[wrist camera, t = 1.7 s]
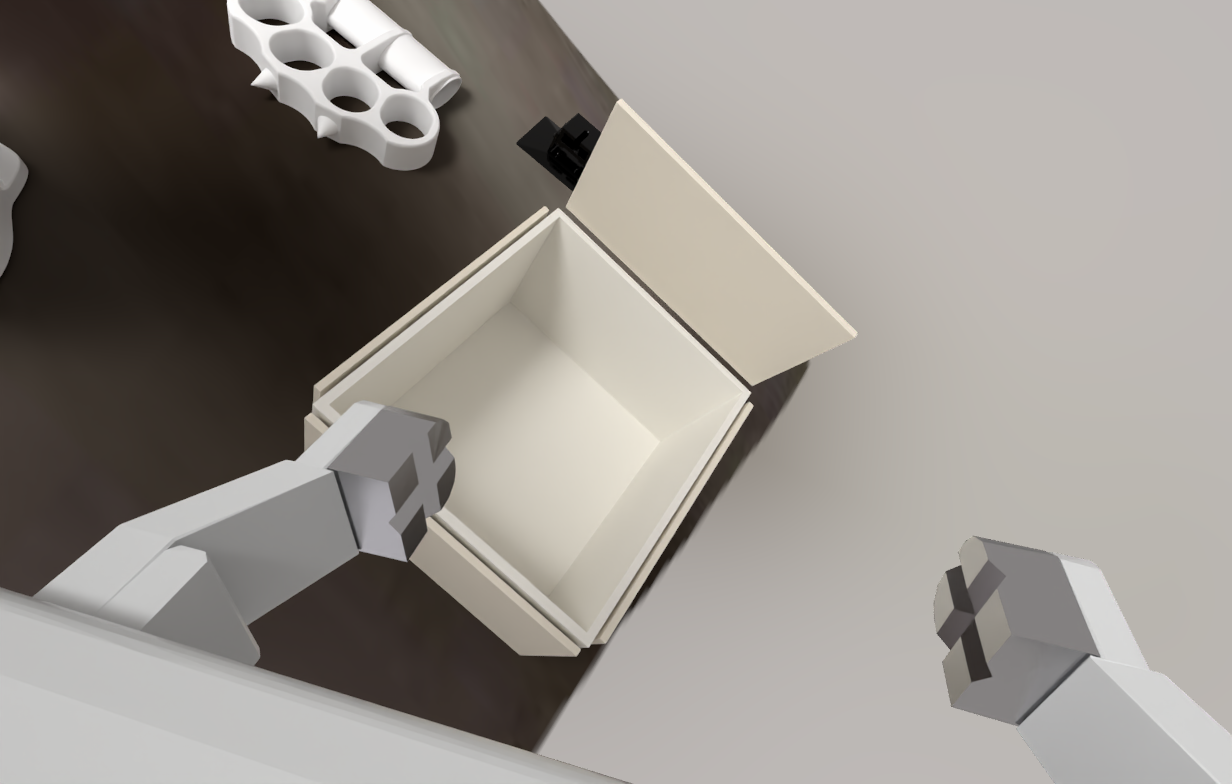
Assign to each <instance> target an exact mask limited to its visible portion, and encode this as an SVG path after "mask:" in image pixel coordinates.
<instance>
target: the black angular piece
mask: <svg viewBox="0 0 1232 784" xmlns="http://www.w3.org/2000/svg"><path fill="white" fill-rule="evenodd" d="M600 135H601V132H600V131H598V130H597V129H596V128H595V127H594V126H593V125H592V124H590V123H589V122H588V121H587V120H586V119H585V118H584V117H582V116H581V115H580V114H579V113H578V114H576V115H575V116H574V117H573V118H572V119H571V120H570V121H568V122H567V123H565V125H564V126H563V127H562V128H559V127H558V126H557V125H556V124H555V123H554V122H552V121H551V120H550V119H549V118H548V117H544V118H543V119H542V120H541V121H540V122H539V123H538V124H536V125H535V126H534V127H533V128H532V129H531V130H530V131H529V132H528V133H527V134H525V135H524V136H523V137H522V138H521V139H520V140H519V141H518V142H517V145H518V146H519V147H521V148H522V149H523V150H524V151H525V152H526V153H528V154H529V155H530V156H531V157H532V158H534V159H535V160H536V161H537V162H538V163H540V164H541V165H542V166H543V167H544V168H546V169H547V170H548V171H549V172H550V173H551V174H553V175H554V176H555V177H556V178H557V179H559V180H560V181H561V182H562V183H563V184H565V185H566V186H567V187H568V188H569V189H571V190H572V191H574V189H575V187H576V185H577V183H578V181H579V178H580V176H581V174H582V172H583V170H584V168H585V166H586V164H587V162H588V160H589V158H590V156H591V154H592V152H593V150H594V148H595V146H596V143H597V141H598V139H599V137H600Z"/></svg>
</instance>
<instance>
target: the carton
mask: <svg viewBox="0 0 1232 784" xmlns="http://www.w3.org/2000/svg"><path fill="white" fill-rule="evenodd" d="M548 212H549V209H548V208H547V207H546V206H544V207H543V208H541V209H540V210H539V211H538V212H536V213H535V214H534V215H532V216H531V217H530V218H529V219H527V220H526V221H525V222H523V223H522V224H521V225H520V226H518V227H517V228H516V229H514V230H513V231H512V232H511V233H509V234H508V235H507V236H505V237H504V238H503V239H502V240H500V241H499V242H498V243H496V244H495V245H494V246H493V247H491V248H490V249H489V250H487V251H486V252H485V253H484V254H482V255H481V256H480V257H479V258H477V259H476V260H475V261H473V262H472V263H471V264H470V265H468V266H467V267H466V268H464V269H463V270H462V271H461V272H459V273H458V274H457V275H455V276H454V277H453V278H452V279H450V280H449V281H448V282H446V283H445V284H444V285H443V286H441V287H440V288H439V289H437V290H436V291H435V292H434V293H432V294H431V295H430V296H428V297H427V298H426V299H425V300H423V301H422V302H421V303H419V304H418V305H417V306H416V307H414V308H413V309H412V310H410V311H409V312H408V313H407V314H405V315H404V316H403V317H401V318H400V319H399V320H398V321H396V322H395V323H394V324H392V325H391V326H390V327H389V328H387V329H386V330H385V331H383V332H382V333H381V334H380V335H378V336H377V337H376V338H374V339H373V340H372V341H371V342H369V343H368V344H367V345H365V346H364V347H363V348H362V349H360V350H359V351H358V352H356V353H355V354H354V355H353V356H351V357H350V358H349V359H348V360H346V361H345V362H344V363H342V364H341V365H340V366H339V367H337V368H336V369H335V370H333V371H332V372H331V373H330V374H328V375H327V376H326V377H324V378H323V379H322V380H321V381H319V382H318V383H317V384H315V385H314V394H313V404H312V413H310V414H309V415H307V416H306V417H305V418H304V452H305V451H306V450H307V449H308V448H309V447H310V446H311V445H312V444H313V443H314V442H315V441H316V440H317V439H318V438H319V437H320V436H321V435H322V434H323V433H324V432H325V431H326V430H327V429H328V428H329V427H330V426H331V425H333V424H334V423H335V422H336V421H337V420H338V419H339V418H340V417H341V416H342V415H343V414H344V413H345V412H346V411H347V410H348V409H349V408H350V407H351V406H352V405H353V404H354V403H356V402H359V401H362V400H366V401H370V402H373V403H377V404H381V405H385V406H392V407H396V408H400V409H404V410H408V411H412V412H416V413H420V414H424V415H429V416H433V417H437V418H441V419H444V420H445V421H447V422H449V426H450V431H451V436H452V438H451V440H450V441H449V442H448V444H447V445H446V448H447V449H448V450H449V452H450V453H451V454H452V455H453V456H454V458H455V466H456V473H455V482H454V485H453V488H452V491H451V494H450V496H449V499H448V500H447V502H446V503H445V505H444V507H443V508H442V510H441V511H439V512H437V513H436V514H434V515H432V516H430V517H428V518H426V523H427V529H428V531H427V533H426V534H425V536H424V537H423V539H422V540H421V542H420V543H419V545H418V546H417V548H416V549H415V551H414V552H413V554H412V555H411V557H410V558H409V560H411V561H412V562H413V563H414V564H415V565H416V566H417V567H419V568H420V569H421V570H422V571H423V572H424V573H426V574H427V575H428V576H429V577H430V578H431V579H432V580H434V581H435V582H436V583H437V584H438V585H439V586H441V587H442V588H443V589H444V590H445V591H446V592H447V593H449V594H450V595H451V596H452V597H453V598H454V599H456V600H457V601H458V602H459V603H460V604H461V605H462V606H464V607H465V608H466V609H467V610H468V611H469V612H471V613H472V614H473V615H474V616H475V617H476V618H477V619H479V620H480V621H481V622H482V623H483V624H484V625H486V626H487V627H488V628H489V629H490V630H491V631H492V632H494V633H495V634H496V635H497V636H498V637H499V638H501V639H502V640H503V641H504V642H505V643H506V644H507V645H509V646H510V647H511V648H512V649H513V650H514V651H515V652H517V653H518V654H519V655H527V656H575V657H577V655H578V654H579V652H580V650H581V649H580V648H589V647H590V645H591V644H606V643H607V641H608V639H609V638H610V636H611V635H612V633H613V631H614V630H615V628H616V627H617V625H618V623H619V622H620V620H621V619H622V617H623V615H624V614H625V612H626V611H627V609H628V607H629V606H630V604H631V602H632V601H633V599H634V598H635V596H636V594H637V593H638V591H639V590H640V588H641V586H642V585H643V583H644V582H645V580H646V578H647V577H648V575H649V574H650V572H651V570H652V569H653V567H654V565H655V564H656V562H657V561H658V559H659V557H660V556H661V554H662V553H663V551H664V549H665V548H666V546H667V545H668V543H669V541H670V540H671V538H672V537H673V535H674V533H675V532H676V530H677V528H678V527H679V525H680V524H681V522H682V520H683V519H684V517H685V516H686V514H687V512H688V511H689V509H690V508H691V506H692V504H693V503H694V501H695V500H696V498H697V496H698V495H699V493H700V491H701V490H702V488H703V487H704V485H705V483H706V482H707V480H708V479H709V477H710V475H711V474H712V472H713V471H714V469H715V467H716V466H717V464H718V463H719V461H720V459H721V458H722V456H723V455H724V453H725V451H726V450H727V448H728V446H729V445H730V443H731V442H732V440H733V438H734V437H735V435H736V434H737V432H738V430H739V429H740V427H741V426H742V424H743V422H744V421H745V419H746V418H747V416H748V414H749V413H750V411H751V409H752V408H753V405H752V404H751V403H750V402H748V403H747V404H745V405H744V403H745V402H746V400H747V399H748V397H749V395H750V394H751V392H750V391H749V390H748V389H747V388H746V387H745V386H744V385H743V384H742V383H741V382H740V381H738V380H737V379H736V378H735V377H734V376H733V375H732V374H731V373H730V372H729V371H728V370H727V369H726V368H725V367H724V366H723V365H722V364H721V363H720V362H719V361H718V360H717V359H716V358H714V357H713V356H712V355H711V354H710V353H709V352H708V351H707V350H706V349H705V348H704V347H703V346H702V345H701V344H700V343H699V342H698V341H697V340H696V339H695V338H694V337H693V336H692V335H691V334H689V333H688V332H687V331H686V330H685V329H684V328H683V327H682V326H681V325H680V324H679V323H678V322H677V321H676V320H675V319H674V318H673V317H672V316H671V315H670V314H669V313H668V312H667V311H665V310H664V309H663V308H662V307H661V306H660V305H659V304H658V303H657V302H656V301H655V300H654V299H653V298H652V297H651V296H650V295H649V294H648V293H647V292H646V291H645V290H644V289H643V288H642V287H640V286H639V285H638V284H637V283H636V282H635V281H634V280H633V279H632V278H631V277H630V276H629V275H628V274H627V273H626V272H625V271H624V270H623V269H622V268H621V267H620V266H619V265H618V264H616V263H615V262H614V261H613V260H612V259H611V258H610V257H609V256H608V255H607V254H606V253H605V252H604V251H603V250H602V249H601V248H600V247H599V246H598V245H597V244H596V243H595V242H594V241H593V240H591V239H590V238H589V237H588V236H587V235H586V234H585V233H584V232H583V231H582V230H581V229H580V228H579V227H578V226H577V225H576V224H575V223H574V222H573V221H572V220H571V219H570V218H569V217H567V216H566V215H565V214H564V213H563V212H562V211H561V210H560V209H559V208H558V209H556V210H555V211H554V212H553V213H551V214H550V215H549V216H548V217H546V215H547V214H548ZM545 217H546V218H545Z"/></svg>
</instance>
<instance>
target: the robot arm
mask: <svg viewBox="0 0 1232 784" xmlns="http://www.w3.org/2000/svg"><path fill="white" fill-rule="evenodd" d="M27 177H28V169H27V166H26V165H25V164H24V162H23V161H22V160H21V159H20V157H19V156H18V155H17V154H16V153H15V152H14V151H12V150H11V149H9V148H8V147H6V146H5V145H3V144H1V143H0V277H1V275H2V274H3V272H4V270H5V268H6V266H7V264H8V261H9V258H10V255H11V251H12V245H13V228H12V217H11V216H12V205H13V203H14V201H15V200H16V198H17V197H18V195H19V193H20V192H21V190H22V188H23V187H24V185H25V183H26V180H27ZM451 438H452V436H451V431H450V426H449V422H447V421H445V420H444V419H441V418H437V417H433V416H429V415H424V414H420V413H416V412H412V411H408V410H404V409H400V408H396V407H392V406H385V405H381V404H377V403H373V402H370V401H366V400H362V401H359V402H356V403H354V404H353V405H352V406H351V407H350V408H349V409H348V410H347V411H346V412H345V413H344V414H343V415H342V416H341V417H340V418H339V419H338V420H337V421H336V422H335V423H334V424H333V425H331V426H330V427H329V428H328V429H327V430H326V431H325V432H324V433H323V434H322V435H321V436H320V437H319V438H318V439H317V440H316V441H315V442H314V443H313V444H312V445H311V446H310V447H309V448H308V449H307V450H306V451H305V452H304V453H303V454H302V455H301V456H300V457H299V458H298V459H297V460H296V461H290V460H284V461H282V462H279V463H277V464H274V465H272V466H269V467H266V468H264V469H261V470H259V471H256V472H254V473H251V474H248V475H246V476H243V477H241V478H238V479H236V480H233V481H231V482H228V483H225V484H223V485H220V486H218V487H215V488H213V489H210V490H207V491H205V492H202V493H200V494H197V495H195V496H192V497H190V498H187V499H184V500H182V501H179V502H177V503H174V504H172V505H169V506H166V507H164V508H161V509H159V510H156V511H154V512H151V513H149V514H146V515H143V516H141V517H138V518H136V519H133V520H131V521H128V522H125V523H123V524H120V525H119V526H118V527H116V528H115V529H114V530H113V531H111V532H110V533H109V534H108V535H107V536H105V537H104V538H103V539H102V540H101V541H99V542H98V543H97V544H96V545H95V546H93V547H92V548H91V549H90V550H89V551H87V552H86V553H85V554H84V555H82V556H81V557H80V558H79V559H78V560H76V561H75V562H74V563H73V564H72V565H70V566H69V567H68V568H67V569H66V570H64V571H63V572H62V573H61V574H60V575H58V576H57V577H56V578H55V579H53V580H52V581H51V582H50V583H49V584H47V585H46V586H45V587H44V588H43V589H41V590H40V591H39V592H38V593H37V594H35V595H34V596H33V597H30V596H27V595H24V594H20V593H17V592H14V591H11V590H7V589H4V588H1V587H0V784H632V783H628V782H625V781H622V780H619V779H616V778H612V777H609V776H606V775H603V774H600V773H596V772H593V771H590V770H586V769H583V768H580V767H577V766H574V765H571V764H567V763H564V762H561V761H558V760H555V759H551V758H548V757H545V756H542V755H538V754H535V753H532V752H529V751H526V750H522V749H519V748H516V747H513V746H510V745H506V744H503V743H500V742H497V741H494V740H490V739H487V738H484V737H481V736H477V735H474V734H471V733H468V732H465V731H461V730H458V729H455V728H452V727H448V726H445V725H442V724H439V723H436V722H432V721H429V720H426V719H423V718H419V717H416V716H413V715H410V714H407V713H403V712H400V711H397V710H394V709H390V708H387V707H384V706H381V705H378V704H374V703H371V702H368V701H365V700H362V699H358V698H355V697H352V696H349V695H345V694H342V693H339V692H336V691H333V690H329V689H326V688H323V687H320V686H316V685H313V684H310V683H307V682H304V681H300V680H297V679H294V678H291V677H287V676H284V675H281V674H278V673H275V672H271V671H268V670H265V669H262V668H259V667H255V666H254V665H255V664H256V662H257V661H258V660H259V658H260V648H259V646H258V644H257V643H256V641H255V639H254V637H253V636H252V634H251V632H250V630H249V628H248V627H247V625H248V624H250V623H252V622H253V621H255V620H256V619H258V618H259V617H261V616H262V615H264V614H266V613H267V612H269V611H270V610H272V609H273V608H275V607H277V606H278V605H280V604H281V603H283V602H284V601H286V600H287V599H289V598H291V597H292V596H294V595H295V594H297V593H298V592H300V591H302V590H303V589H305V588H306V587H308V586H309V585H311V584H312V583H314V582H316V581H317V580H319V579H320V578H322V577H323V576H325V575H327V574H328V573H330V572H331V571H333V570H334V569H336V568H337V567H339V566H341V565H342V564H344V563H345V562H347V561H348V560H350V559H352V558H353V557H355V556H356V555H358V554H359V551H362V552H366V553H370V554H375V555H379V556H383V557H388V558H392V559H396V560H400V561H405V562H407V561H408V560H409V558H410V557H411V555H412V554H413V552H414V551H415V549H416V548H417V546H418V545H419V543H420V542H421V540H422V539H423V537H424V536H425V534H426V533H427V531H428V529H427V523H426V518H428V517H430V516H432V515H434V514H436V513H437V512H439V511H441V510H442V508H443V507H444V505H445V503H446V502H447V500H448V499H449V496H450V494H451V491H452V488H453V485H454V482H455V473H456V466H455V458H454V456H453V455H452V454H451V453H450V452H449V450H448V449H447V448H446V445H447V444H448V442H449V441H450V440H451ZM958 554H959V557H960V562H961V565H960V566H958V567H955V568H953V569H950V570H948V571H946V572H945V574H944V575H943V577H942V579H941V581H940V583H939V584H938V586H937V592H936V595H935V600H934V621H935V626H936V632H937V634H938V636H939V637H940V638H941V639H942V640H943V642H944V643H945V644H946V645H947V646H948V648H949V649H950V650H951V651H950V652H949V653H948V655H947V656H946V658H945V659H944V660H943V662H942V663H943V668H944V673H945V678H946V683H947V687H948V693H949V697H950V702H951V707H954V708H957V709H961V710H964V711H968V712H971V713H974V714H978V715H982V716H985V717H988V718H992V719H995V720H998V721H1002V722H1005V723H1009V724H1012V725H1016V726H1018V727H1017V731H1018V732H1019V734H1020V735H1021V736H1022V738H1023V739H1024V741H1025V742H1026V743H1027V745H1028V746H1029V748H1030V749H1031V750H1032V752H1033V753H1034V755H1035V756H1036V758H1037V759H1038V760H1039V762H1040V763H1041V765H1042V766H1043V768H1044V769H1045V770H1046V772H1047V773H1048V775H1049V776H1050V777H1051V779H1052V780H1053V782H1054V783H1055V784H1232V735H1231V734H1230V733H1229V732H1227V731H1226V730H1225V729H1224V728H1223V727H1222V726H1221V725H1220V724H1219V723H1217V722H1216V721H1215V720H1214V719H1213V718H1212V717H1211V716H1210V715H1209V714H1207V713H1206V712H1205V711H1204V710H1203V709H1202V708H1201V707H1200V706H1199V705H1197V704H1196V703H1195V702H1194V701H1193V700H1192V699H1191V698H1190V697H1189V696H1188V695H1186V694H1185V693H1184V692H1183V691H1182V690H1181V689H1180V688H1179V687H1177V686H1176V685H1175V684H1174V683H1173V682H1172V681H1171V680H1170V679H1169V678H1168V677H1166V676H1165V675H1164V674H1162V673H1158V672H1155V671H1151V670H1150V669H1149V667H1148V665H1147V663H1146V661H1145V659H1144V657H1143V655H1142V653H1141V651H1140V649H1139V647H1138V645H1137V643H1136V641H1135V639H1134V637H1133V634H1132V632H1131V631H1130V628H1129V626H1128V624H1127V622H1126V620H1125V618H1124V616H1123V614H1122V612H1121V610H1120V608H1119V606H1118V604H1117V602H1116V600H1115V598H1114V596H1113V594H1112V592H1111V590H1110V588H1109V586H1108V584H1107V582H1106V579H1105V578H1104V575H1103V573H1102V571H1101V570H1100V568H1099V567H1098V566H1097V565H1096V564H1095V563H1094V562H1092V561H1091V560H1086V559H1082V558H1077V557H1072V556H1068V555H1063V554H1058V553H1053V552H1049V553H1048V552H1046V551H1043V550H1038V549H1033V548H1028V547H1023V546H1019V545H1014V544H1010V543H1005V542H999V541H996V540H991V539H986V538H981V537H977V536H973V537H971V538H969V539H968V540H966V541H965V543H964V544H963V546H962V547H961V549H960V550H959V552H958Z"/></svg>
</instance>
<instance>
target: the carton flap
mask: <svg viewBox="0 0 1232 784" xmlns="http://www.w3.org/2000/svg"><path fill="white" fill-rule="evenodd" d="M566 208H567V209H568V210H569V211H570V212H571V213H573V214H574V215H575V216H576V217H577V218H578V219H579V220H580V221H581V222H582V223H583V224H584V225H585V226H586V227H587V228H588V229H589V230H590V231H591V232H592V233H593V234H594V235H595V236H596V237H597V238H599V239H600V240H601V241H602V242H603V243H604V244H605V245H606V246H607V247H608V248H609V249H610V250H611V251H612V252H613V253H614V254H615V255H616V256H617V257H618V258H619V259H620V260H621V261H622V262H624V263H625V264H626V265H627V266H628V267H629V268H630V269H631V270H632V271H633V272H634V273H635V274H636V275H637V276H638V277H639V278H640V279H641V280H642V281H643V282H644V283H645V284H646V285H647V286H649V287H650V288H651V289H652V290H653V291H654V292H655V293H656V294H657V295H658V296H659V297H660V298H661V299H662V300H663V301H664V302H665V303H666V304H667V305H668V306H669V307H670V308H671V309H672V310H673V311H675V312H676V313H677V314H678V315H679V316H680V317H681V318H682V319H683V320H684V321H685V322H686V323H687V324H688V325H689V326H690V327H691V328H692V329H693V330H694V331H695V332H696V333H697V334H698V335H700V336H701V337H702V338H703V339H704V340H705V341H706V342H707V343H708V344H709V345H710V346H711V347H712V348H713V349H714V350H715V351H716V352H717V353H718V354H719V355H720V356H721V357H722V358H723V359H724V360H726V361H727V362H728V363H729V364H730V365H731V366H732V367H733V368H734V369H735V370H736V371H737V372H738V373H739V374H740V375H741V376H742V377H743V378H744V379H745V380H746V381H747V382H748V383H749V384H751V385H752V386H753V385H756V384H758V383H760V382H762V381H764V380H766V379H768V378H771V377H773V376H775V375H777V374H779V373H781V372H783V371H786V370H788V369H790V368H792V367H794V366H796V365H798V364H801V363H803V362H805V361H807V360H809V359H811V358H813V357H816V356H818V355H820V354H822V353H824V352H826V351H828V350H831V349H833V348H835V347H837V346H839V345H841V344H843V343H846V342H848V341H850V340H852V339H854V338H855V337H856V336H857V334H858V333H857V332H856V331H855V330H854V329H853V328H852V327H851V326H850V325H849V324H848V323H847V322H846V321H845V320H844V319H843V318H842V317H841V316H840V315H839V314H838V313H837V312H836V311H835V310H834V309H833V308H832V307H831V306H830V305H829V304H828V303H827V302H826V301H825V300H824V299H823V298H822V297H821V296H820V295H819V294H818V293H817V292H816V291H815V290H814V289H813V288H812V287H811V286H810V285H809V284H808V283H807V282H806V281H805V280H804V279H803V278H802V277H801V276H800V275H799V274H798V273H797V272H796V271H795V270H794V269H793V268H792V267H791V266H790V265H789V264H788V263H787V262H786V261H785V260H784V259H783V258H782V257H781V256H779V254H778V253H777V252H776V251H774V249H773V248H771V246H770V245H769V244H768V243H767V242H766V241H765V240H764V239H763V238H761V237H760V236H759V234H757V233H756V232H755V231H754V230H753V229H752V228H751V227H750V226H749V225H748V224H747V223H746V222H745V221H744V220H743V219H742V218H741V217H740V216H739V215H738V214H737V213H736V212H735V211H734V210H733V209H732V208H731V207H730V206H729V205H728V204H727V203H726V202H725V201H724V200H723V199H722V198H721V197H720V196H719V195H718V194H717V193H716V192H715V191H714V190H713V189H712V188H711V187H710V186H709V185H708V184H707V183H706V182H705V181H704V180H703V179H702V178H701V177H700V176H699V175H698V174H697V173H696V172H695V171H694V170H693V169H692V168H691V167H690V166H689V165H688V164H687V163H686V162H685V161H684V160H683V159H682V158H681V157H680V156H679V155H678V154H677V153H676V152H675V151H674V150H673V149H672V148H671V147H670V146H669V145H668V144H667V143H666V142H665V141H664V140H663V139H662V138H661V137H660V136H659V135H658V134H657V133H656V132H655V131H654V130H653V129H652V128H650V126H649V125H648V124H647V123H646V122H645V121H644V120H643V119H641V118H640V116H638V114H637V113H636V112H635V111H633V110H632V108H630V107H629V106H628V105H627V104H626V103H625V102H624V101H623V100H622V99H620V100H619V101H617V102H616V104H615V106H614V108H613V111H612V113H611V115H610V117H609V119H608V121H607V123H606V125H605V127H604V129H603V131H602V133H601V135H600V137H599V139H598V141H597V143H596V146H595V148H594V150H593V152H592V154H591V156H590V158H589V160H588V162H587V164H586V166H585V168H584V170H583V172H582V174H581V176H580V178H579V181H578V183H577V185H576V187H575V189H574V191H573V193H572V195H571V197H570V199H569V201H568V203H567V205H566Z"/></svg>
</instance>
